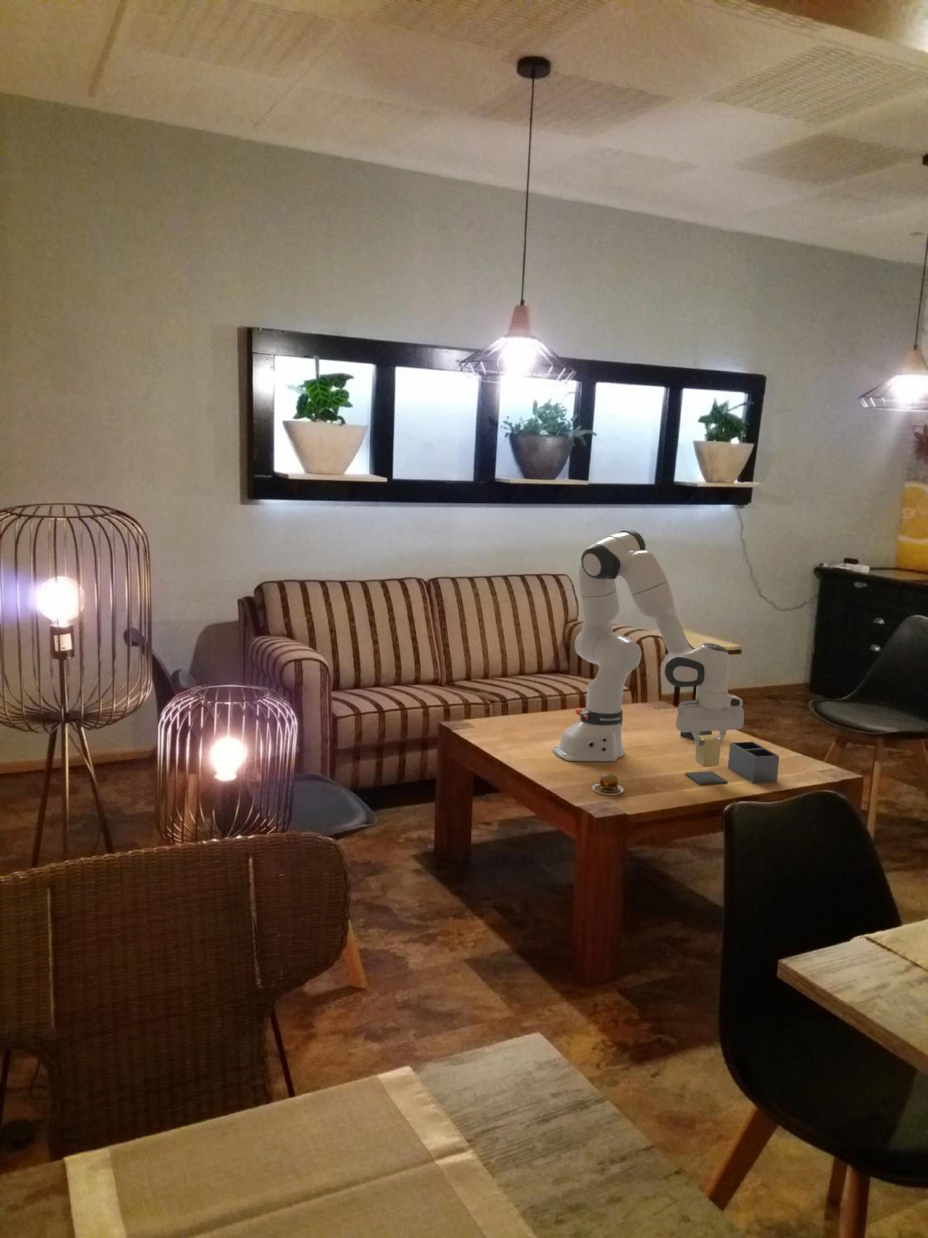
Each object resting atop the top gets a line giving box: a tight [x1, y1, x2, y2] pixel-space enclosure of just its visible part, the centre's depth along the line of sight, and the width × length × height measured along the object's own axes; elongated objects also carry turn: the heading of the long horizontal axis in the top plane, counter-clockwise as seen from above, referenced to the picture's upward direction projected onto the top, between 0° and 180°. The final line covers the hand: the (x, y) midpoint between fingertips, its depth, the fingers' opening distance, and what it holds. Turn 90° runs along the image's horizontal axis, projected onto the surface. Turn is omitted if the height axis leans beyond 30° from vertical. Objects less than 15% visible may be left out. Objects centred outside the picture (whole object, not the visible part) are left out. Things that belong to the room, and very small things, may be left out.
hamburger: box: [591, 772, 625, 796], centre depth 269 cm, size 12×12×6 cm
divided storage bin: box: [727, 741, 780, 784], centre depth 285 cm, size 8×14×8 cm, turn 15°
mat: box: [684, 770, 728, 786], centre depth 281 cm, size 9×9×1 cm
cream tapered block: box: [694, 734, 722, 768], centre depth 279 cm, size 5×5×8 cm
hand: (708, 744), depth 279 cm, fingers closed on cream tapered block, 5 cm apart
